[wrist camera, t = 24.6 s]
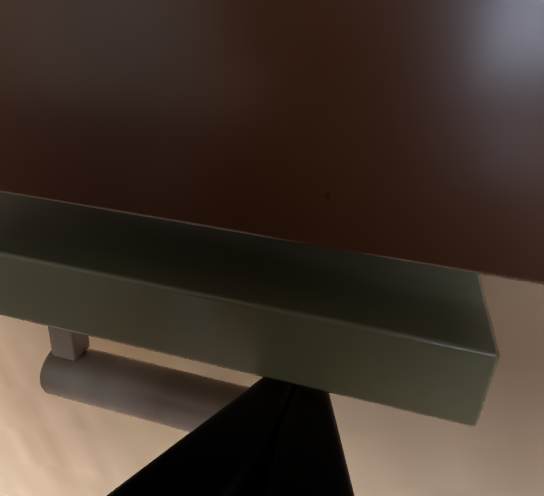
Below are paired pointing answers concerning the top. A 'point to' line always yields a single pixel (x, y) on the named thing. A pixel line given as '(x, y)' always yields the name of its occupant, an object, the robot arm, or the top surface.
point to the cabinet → (289, 120)
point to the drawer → (237, 315)
